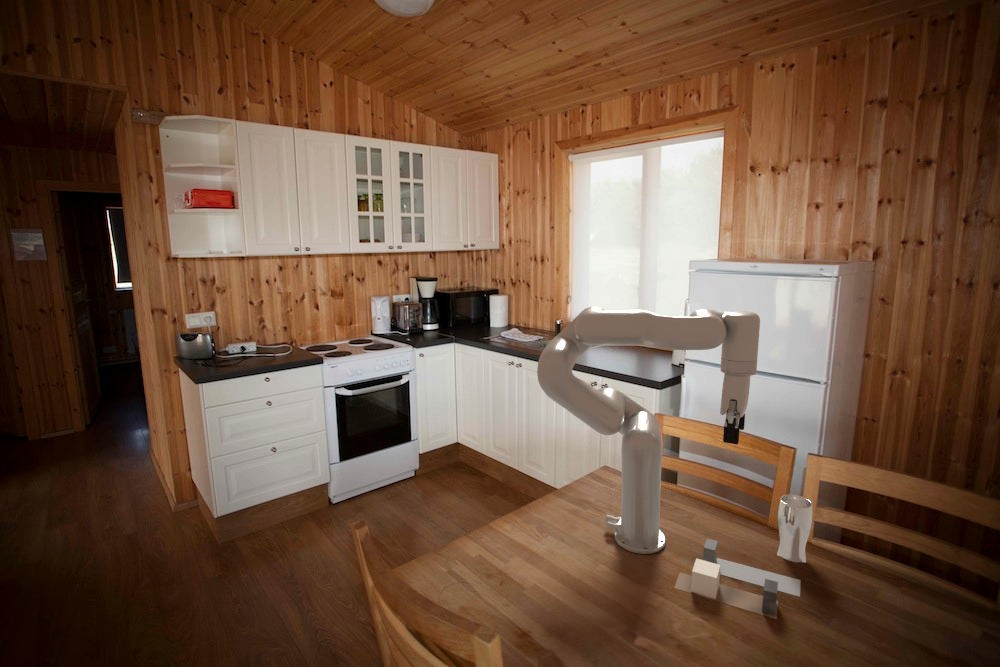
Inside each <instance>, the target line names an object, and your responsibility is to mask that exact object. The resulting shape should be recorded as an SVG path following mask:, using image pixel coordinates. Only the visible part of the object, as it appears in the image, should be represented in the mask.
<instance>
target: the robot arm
mask: <svg viewBox="0 0 1000 667" xmlns="http://www.w3.org/2000/svg"><path fill="white" fill-rule="evenodd" d="M760 326H761V318H760V316H759V315H758V314H757V313H755V312H752V311H743V310H742V311H741V310H736V311H735V310H734V311H722V310H721V311H720V310H715V309H708V308H705V309H703V308H701V309H697V310H695V311H693V312H692V313H691V314H690V315H689V316H668V315H661V314H657V313H655V312H651V311H648V310H644V309H622V310H621V309H620V310H616V309H615V310H609V309H608V310H605V309H603V308H601V307H599V306H588V307H586V308H584V309H583V310H582V311H580V312H579V314H578V315H576V317H575V318H574V319H573V320H572V321H571V322H569V323H568V324H567V325H566V326H565V327H564V328H563V329H562V330H561V331H560V332H559V333H558V334H557V335H556V336H554V337H553V338H552V339H551V341H550V342H549V343H547V345H546V346H545V347H544V349H543V351H542V352H541V354H540V356H539V358H538V362H537V370H536V373H537V381H538V383H539V386H540V388H541V390H542V391H543V392H544V394H545V395H546V396H547V397H548V398H549V399H551V400H552V401H553V402H555V403H556V404H558V405H559V406H560V407H562V408H564V409H565V410H566V411H567V412H569V413H570V414H572V415H573V417H575V418H577V419H578V420H580V421H581V422H583V423H584V424H586V425H587V426H588V427H590V428H591V429H592V430H593V431H595V432H597V433H598V434H601V435H603V436H613V435H615V434H618V433H619V434H620V435H622V436H621V448H620V450H621V481H620V482H621V490H620V491H621V493H620V494H621V495H620V496H621V498H620V499H621V500H620V501H621V503H620V505H621V506H620V516H618V517H615V516H613V515H611V514H606V516H605V523H606V527H607V528H611V529H615V531H614V540H615V542H616V543H617V545H618V546H620V547H621V548H622V549H623V550H626V551H629V552H632V553H634V554H639V555H640V554H641V555H642V554H643V555H645V554H646V555H648V554H655V553H657V552H660V551H661V550H662V549H663V548H664V547H665V546H666V536H665V534H664V533H663V532H662V531H661V530H660V520H661V519H660V517H661V516H660V515H661V487H662V485H661V484H662V482H661V481H662V463H663V452H664V451H663V447H664V446H663V445H664V444H663V437H662V436H663V435H662V430H661V429H662V428H661V425H660V422H659V420H658V419H657V417H656V416H655V415H654V414H653V413H651V412H650V411H649V410H648V409H647V408H644V407H643V406H642V405H640V404H639V403H637V401H635V400H633V399H632V398H630V397H629V396H627V395H626V394H624V393H623V392H621V391H620V390H618V389H615V388H611V387H602V388H599V389H596V388H594V387H593V386H591V385H590V384H589V383H588V382H586V381H585V380H583V379H581V378H578V377H576V376H575V375H574V374H573V369H574V366H575V365H576V362H577V361H578V360H579V359H580V358H581V357H583V355H584V354H585V353H586V352H588V351H589V350H590V349H591V348H592V347H594V346H595V347H597V346H598V347H604V346H605V347H606V346H607V347H610V346H611V347H612V346H614V347H615V346H616V347H617V346H618V347H619V346H621V347H623V346H625V347H626V346H628V347H629V346H631V347H632V346H633V347H635V346H636V347H638V346H640V347H646V348H655V349H665V350H673V351H708V350H712V349H716V348H717V347H720V345H721V353H720V354H721V355H720V356H721V357H720V372H721V373H724V374H723V382H722V390H721V401H720V410H719V414H720V415H721V416H724V415H725V420H724V425H723V435H722V436H723V438H722V441H723V443H725V444H731V445H736V446H737V445H739V442H740V441H739V440H740V431H744V430H745V423H746V422H745V419H746V411H747V407H748V404H749V403H748V402H749V397H750V387H751V386H750V384H751V376H755V375H756V374H757V371H758V370H757V368H758V367H757V366H758V356H759V342H760V340H759V338H760V328H761V327H760Z"/></svg>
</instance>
